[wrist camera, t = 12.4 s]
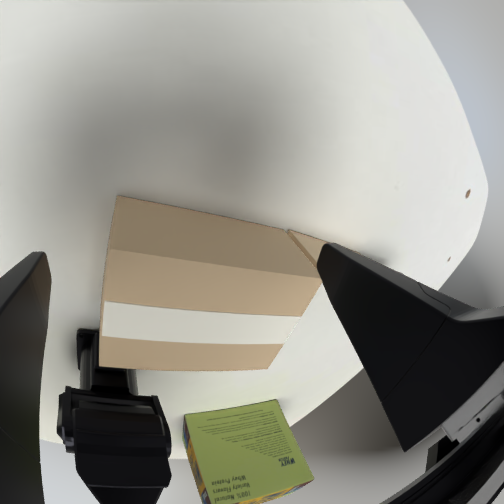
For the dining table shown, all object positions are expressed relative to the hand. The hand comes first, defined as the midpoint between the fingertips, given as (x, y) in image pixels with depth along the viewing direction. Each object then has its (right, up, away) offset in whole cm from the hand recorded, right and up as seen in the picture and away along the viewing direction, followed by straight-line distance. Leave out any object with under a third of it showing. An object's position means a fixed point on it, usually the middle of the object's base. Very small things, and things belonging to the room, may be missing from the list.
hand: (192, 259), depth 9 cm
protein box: (-2, -28, +36) cm, 45 cm away
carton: (-3, -1, +16) cm, 16 cm away
